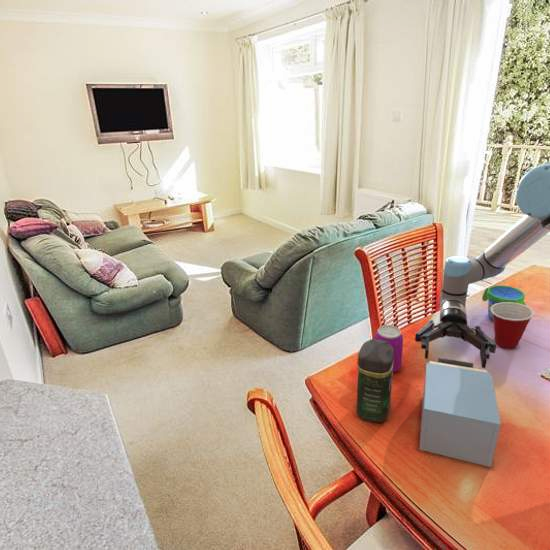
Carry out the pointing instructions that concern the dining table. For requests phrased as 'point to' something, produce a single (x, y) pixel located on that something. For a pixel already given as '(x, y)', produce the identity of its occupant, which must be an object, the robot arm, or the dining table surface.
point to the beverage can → (392, 342)
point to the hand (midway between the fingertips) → (454, 359)
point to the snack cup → (502, 296)
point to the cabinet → (459, 414)
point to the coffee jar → (374, 380)
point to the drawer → (456, 364)
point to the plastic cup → (510, 323)
